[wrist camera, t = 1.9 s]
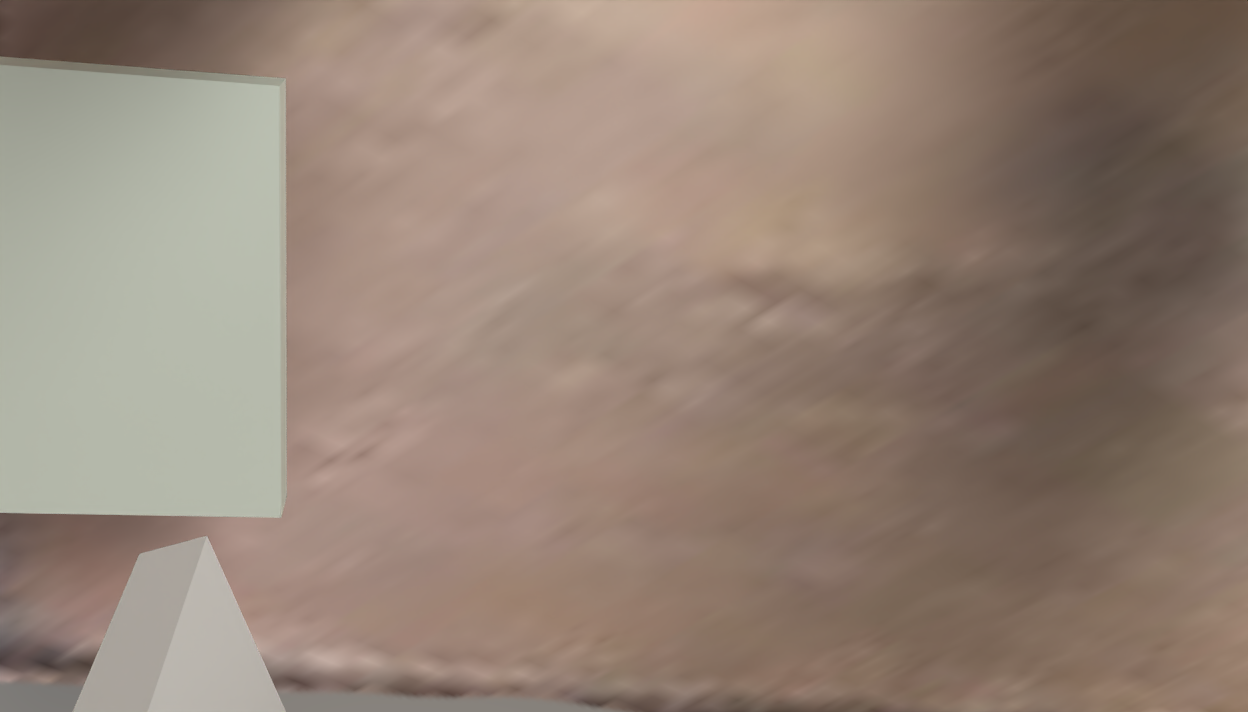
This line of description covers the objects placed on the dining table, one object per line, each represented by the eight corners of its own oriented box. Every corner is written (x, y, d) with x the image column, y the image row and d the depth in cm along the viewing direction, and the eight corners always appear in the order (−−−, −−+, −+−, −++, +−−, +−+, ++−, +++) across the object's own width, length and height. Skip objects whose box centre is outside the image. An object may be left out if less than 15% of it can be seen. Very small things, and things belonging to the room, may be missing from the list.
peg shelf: (304, 57, 40) (279, 86, 34) (302, 434, 45) (281, 517, 39) (-291, 9, 37) (-431, 32, 31) (-223, 419, 42) (-333, 507, 36)
